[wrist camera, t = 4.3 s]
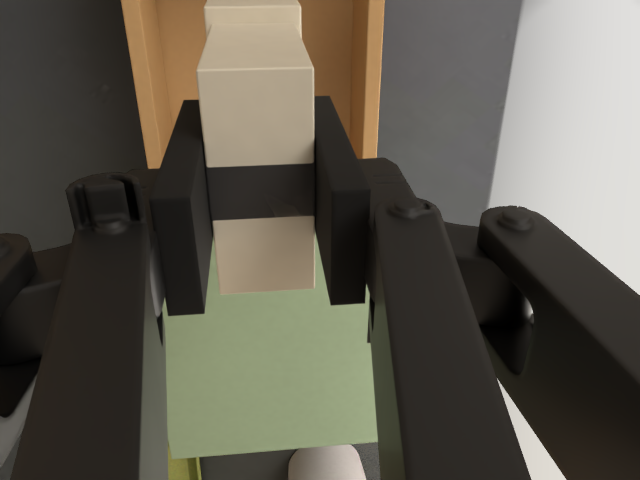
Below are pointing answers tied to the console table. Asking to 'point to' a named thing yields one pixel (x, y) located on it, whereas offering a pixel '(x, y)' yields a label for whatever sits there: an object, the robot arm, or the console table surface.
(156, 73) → the drawer
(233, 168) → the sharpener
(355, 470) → the coffee cup
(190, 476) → the olive green square tray
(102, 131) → the console table surface
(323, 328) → the cabinet
